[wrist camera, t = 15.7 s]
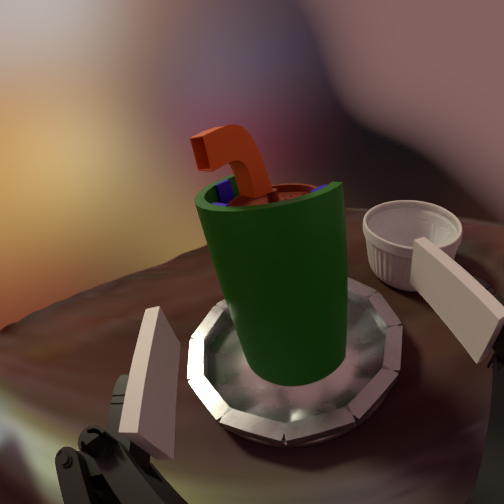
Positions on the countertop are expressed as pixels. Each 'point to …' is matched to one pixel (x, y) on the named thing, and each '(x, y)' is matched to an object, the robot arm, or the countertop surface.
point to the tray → (305, 396)
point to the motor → (276, 260)
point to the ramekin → (406, 237)
